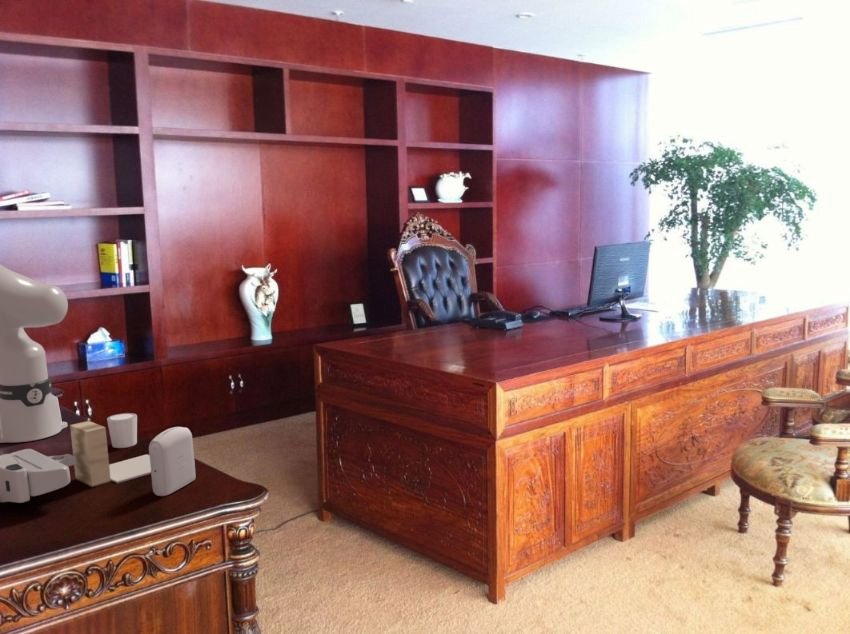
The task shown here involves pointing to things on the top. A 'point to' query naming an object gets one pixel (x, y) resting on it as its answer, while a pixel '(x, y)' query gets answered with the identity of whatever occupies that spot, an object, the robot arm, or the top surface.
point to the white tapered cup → (123, 430)
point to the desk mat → (130, 468)
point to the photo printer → (172, 460)
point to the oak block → (90, 453)
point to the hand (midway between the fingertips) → (73, 458)
